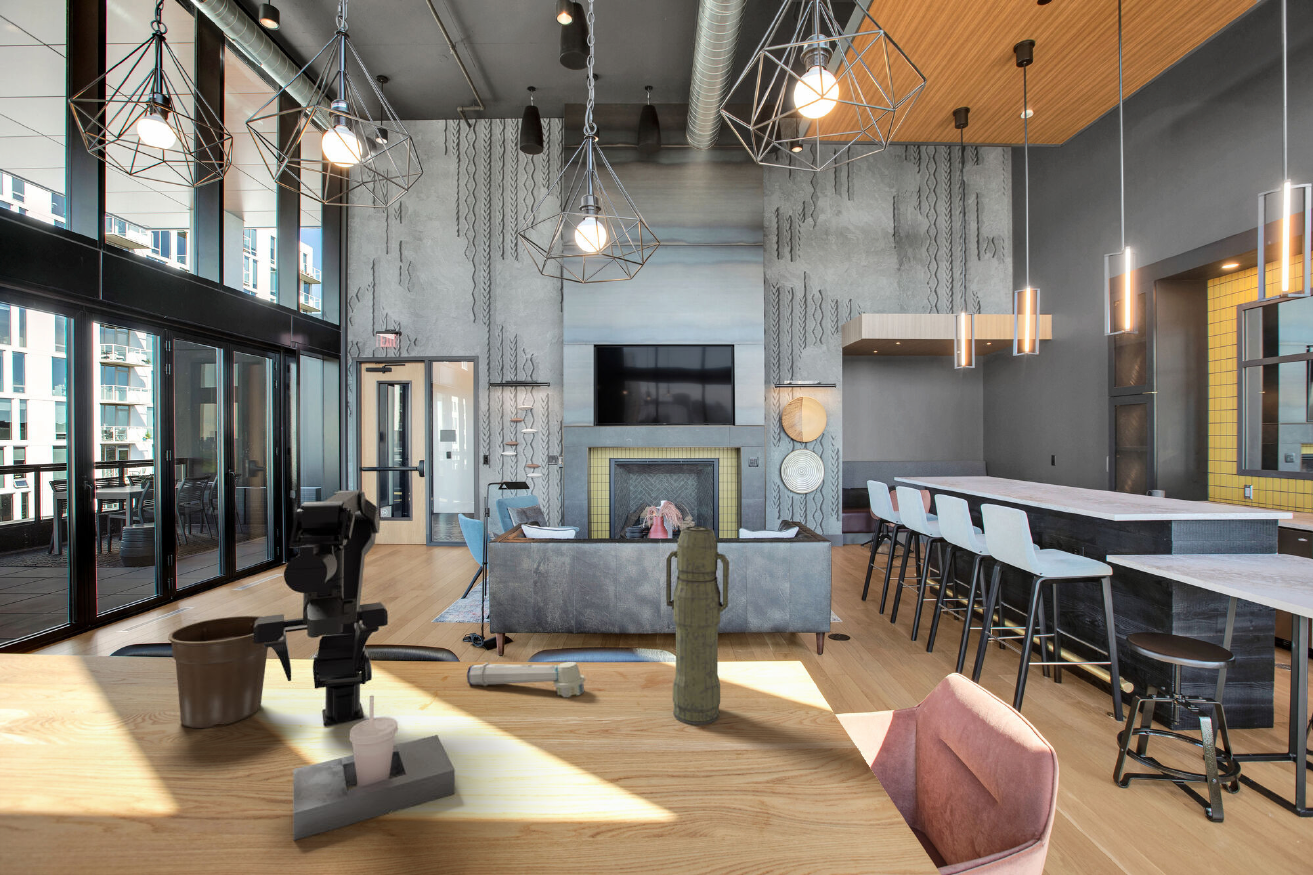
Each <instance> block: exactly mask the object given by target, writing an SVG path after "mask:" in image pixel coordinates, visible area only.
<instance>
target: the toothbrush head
mask: <svg viewBox="0 0 1313 875" xmlns="http://www.w3.org/2000/svg"><path fill="white" fill-rule="evenodd" d="M466 679H467V680H466V682H467V683H468V684H469V685H471V686H472V685H473V686H477V685H478V686H484V687H487V686H488V685H503V684H504V685H505V684H520V683H521V684H523V683H525V684H526V683H543V682H545V683H546V682H553V685H554V687H555V689H556V694H557V695H558V696H562V697H563V698H570V697H571V696H573V695H575V696H579V695H581V694H583V693H584V692H585V686H584V683H585V682H586V677H585V676H584V675H583V674H580V668H579V665H578V664H577V662H574V661H566V662H563V663H562V662H561V663H559V664H558V665H557V664H556V665H555V664H553V665H551V664H500V663H499V664H495V663H492V664H491V663H490V662H486V663H484V664H472V665H471V666H469V667H468V669H467V673H466ZM486 685H487V686H486Z"/></svg>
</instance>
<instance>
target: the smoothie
mask: <svg viewBox="0 0 1313 875" xmlns="http://www.w3.org/2000/svg"><path fill="white" fill-rule="evenodd" d="M374 698H375V696H374V695H373V694H372V695H369V712H368V713H369V714H368V716H369V719H365V720H363V721H360V722H358V723H356V724H355V725H353V726H352V728H350V730H349V741H350V742H351V743H352V744H351V745H352V749H353V752H352V753H353V755H354V760H355V768H356V776H357V787H361V786H365V785H369V784H373V783H376V782H380V781H384V780H388V779H390V776H389V775H390V768H391V761H392V753H393V746H394V745H395V740H396V739H395V737H396V734H397V733H398V731H399V728H398V727H399V726H398V721H397V720H396V719H394V718H391V717H383V716H382V717H381V716H380V717H374V715H375V714H374V710H375V708H374V707H375V706H374V704H375V699H374Z"/></svg>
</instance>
